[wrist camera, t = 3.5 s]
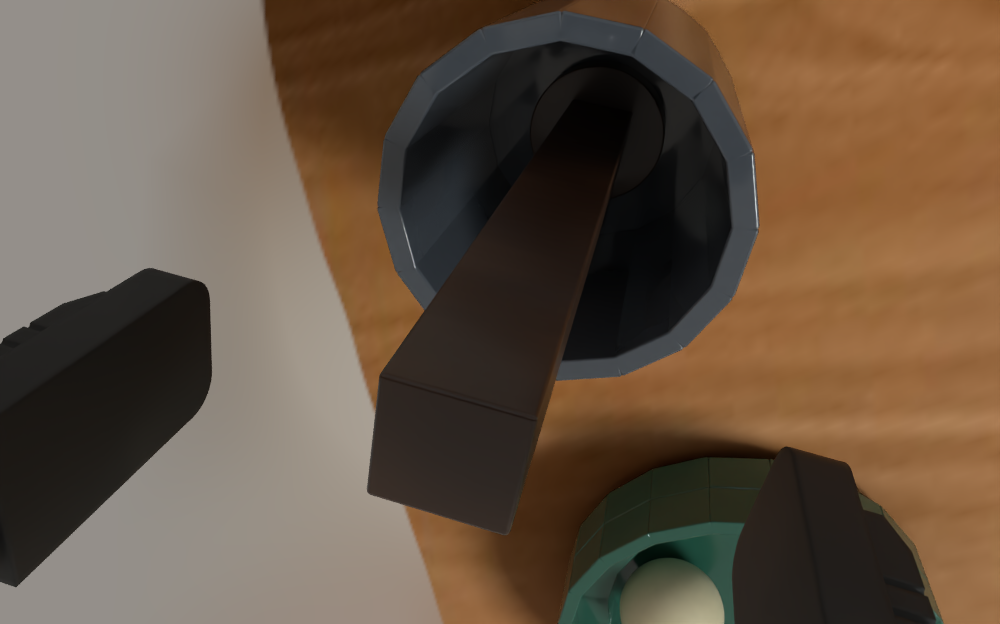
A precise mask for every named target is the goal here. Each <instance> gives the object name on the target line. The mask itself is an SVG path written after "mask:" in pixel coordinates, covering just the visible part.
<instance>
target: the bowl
mask: <svg viewBox="0 0 1000 624" xmlns="http://www.w3.org/2000/svg"><path fill="white" fill-rule="evenodd" d="M773 462H774V459H758V458H725V457H709V458H708V457H704V458H699V459H695V460H690V461H686V462H681V463H677V464H672V465H668V466H663V467H659V468H654V469H652V470H650V471H648V472H646V473H644V474H643V475H641V476H639V477H637V478H635V479H634V480H632V481H630V482H628V483H626V484H624V485H623V486H621V487H619V488H617V489H615V490H614V491H612V492H610V493H609V494H608V495H607V496H606V497H605V498H604V499H603V500H602V502H601V503H600V504H599V505H598V506H597V507H596V508H595V510H594V511H593V512H592V513H591V514H590V515H589V517H588V518H587V519H586V520H585V521H584V522H583V523H582V525H581V526H580V528H579V531H578V534H577V538H576V541H575V544H574V547H573V550H572V554H571V557H570V560H569V564H568V569H567V575H566V580H565V585H564V590H563V596H562V601H561V606H560V611H559V617H558V622H557V624H622V623H621V618H620V598H621V594H622V590H623V588H624V585H625V583H626V582H627V580H628V578H629V577H630V576H631V574H632V573H633V572H634V571H635V570H636V569H637V568H639V567H640V566H642V565H643V564H645V563H647V562H649V561H652V560H655V559H659V558H676V559H680V560H684V561H686V562H689V563H691V564H693V565H695V566H696V567H698V568H699V569H700V570H702V571H703V572H704V573H705V574H706V575H707V576H708V577H709V578H710V579H711V581H712V582H713V583H714V585H715V586H716V588H717V590H718V592H719V594H720V597H721V600H722V603H723V608H724V624H735V622H734V606H733V589H732V569H733V561H734V555H735V550H736V546H737V543H738V539H739V536H740V534H741V531H742V529H743V527H744V524H745V522H746V520H747V518H748V516H749V514H750V512H751V509H752V507H753V505H754V503H755V501H756V499H757V496H758V494H759V492H760V490H761V488H762V486H763V483H764V481H765V479H766V477H767V475H768V473H769V471H770V468H771V466H772V464H773ZM858 494H859V497H860V501H861V504H862V508H863V510H866V511H870V512H874V513H877V514H881V515H883V516H884V517H885V518H886V519H887V521H888V522H889V523H890V524H891V526H892V527H893V528H894V529H895V531H896V532H897V533H898V535H899V536H900V537H901V538H902V540H903V541H904V542H905V543H906V545H907V546H908V547H909V548H910V550H911V551H912V553H913V556H914V559H915V561H916V564H917V567H918V570H919V573H920V575H921V578H922V581H923V584H924V587H925V591H924V595H925V596H928V598H929V601H930V604H931V606H932V609H933V612H934V615H935V618H936V623H935V624H944V623H943V620H942V617H941V614H940V612H939V609H938V606H937V604H936V601H935V598H934V596H933V593H932V590H931V587H930V585H929V582H928V579H927V577H926V574H925V571H924V568H923V566H922V563H921V560H920V558H919V555H918V552H917V550H916V547H915V545H914V543H913V542H912V541H911V540H910V539H909V537H908V536H907V535H906V534H905V533H904V532H903V531H902V529H901V528H900V527H899V526H898V525H897V524H896V523H895V521H894V520H893V519H892V518H891V517H890V516H889V514H888V513H887V512H886V511H885V510H884V509H883V508H882V506H879V505H878V504H877V503H875V502H873V501H872V500H870V499H868V498H867V497H865V496H863V495H862V494H860V493H858Z"/></svg>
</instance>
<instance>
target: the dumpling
mask: <svg viewBox="0 0 1000 624" xmlns="http://www.w3.org/2000/svg"><path fill="white" fill-rule="evenodd" d="M620 618H621V623H622V624H724V608H723V603H722V600H721V597H720V594H719V592H718V590H717V588H716V586H715V585H714V583H713V582H712V581H711V579H710V578H709V577H708V576H707V575H706V574H705V573H704V572H703V571H702V570H700V569H699V568H698V567H696V566H695V565H693V564H691V563H689V562H686V561H684V560H680V559H676V558H659V559H655V560H652V561H649V562H647V563H645V564H643V565H642V566H640V567H639V568H637V569H636V570H635V571H634V572H633V573H632V574H631V576H630V577H629V578H628V580H627V582H626V583H625V585H624V588H623V590H622V594H621V598H620Z"/></svg>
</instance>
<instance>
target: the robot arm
mask: <svg viewBox="0 0 1000 624" xmlns="http://www.w3.org/2000/svg"><path fill="white" fill-rule="evenodd" d="M211 377H212V360H211V324H210V297H209V292H208V290H207V287H206V286H205V284H203V283H202V282H199V281H196V280H193V279H189V278H185V277H182V276H178V275H175V274H171V273H168V272H164V271H160V270H156V269H153V268H148V269H144V270H142V271H140V272H138V273H137V274H135V275H133V276H132V277H130V278H128V279H127V280H125V281H123V282H122V283H120V284H119V285H117V286H115V287H114V288H112V289H110V290H109V291H107V292H100V293H97V294H93V295H90V296H87V297H84V298H80V299H77V300H74V301H70V302H67V303H64V304H62V305H60V306H58V307H56V308H55V309H53V310H51V311H50V312H48V313H46V314H44V315H43V316H41V317H39V318H38V319H36V320H34V321H32V322H31V323H30V326H29V327H28V328H27V327H22V328H21V329H19V330H17V331H15V332H14V333H12V334H10V335H8V336H7V337H5V338H3V342H2V343H1V344H0V582H2V583H5V584H8V585H11V586H14V587H17V586H18V585H19V584H20V583H21V582H22V581H23V580H24V579H25V578H26V577H27V576H28V575H29V574H30V573H31V572H32V571H33V570H35V569H36V568H37V567H38V566H39V565H40V564H41V563H42V562H43V561H44V560H45V559H46V558H47V557H48V556H49V555H50V554H51V553H52V552H53V551H54V550H55V549H56V548H57V547H58V546H59V545H60V544H62V543H63V542H64V541H65V540H66V539H67V538H68V537H69V536H70V535H71V534H72V533H73V532H74V531H75V530H76V529H77V528H78V527H79V526H80V525H81V524H82V523H83V522H84V521H85V520H86V519H87V518H89V517H90V516H91V515H92V514H93V513H94V512H95V511H96V510H97V509H98V508H99V507H100V506H101V505H102V504H103V503H104V502H105V501H106V500H107V499H108V498H109V497H110V496H111V495H113V493H114V492H116V491H117V490H118V489H119V488H120V487H121V486H122V485H123V484H124V483H125V482H126V481H127V480H128V479H129V478H130V477H131V476H132V475H133V474H134V473H135V472H136V471H137V470H138V469H140V468H141V467H142V466H143V465H144V464H145V463H146V462H147V461H148V460H149V459H150V458H151V457H152V456H153V455H154V454H155V453H156V452H157V451H158V450H159V449H160V448H161V447H162V446H163V445H164V444H166V443H167V442H168V441H169V440H170V439H171V438H172V437H173V436H174V435H175V434H176V433H177V432H178V431H179V430H180V429H181V428H182V427H183V426H184V425H185V424H186V423H187V422H188V421H189V420H190V419H192V418H193V417H194V415H195V414H196V413H197V412H198V411H199V409H200V408H201V406H202V404H203V403H204V400H205V398H206V396H207V394H208V391H209V387H210V383H211ZM732 589H733V606H734V622H735V624H935V623H936V618H935V615H934V612H933V609H932V606H931V604H930V601H929V598H928V596H925V595H924V591H925V587H924V584H923V581H922V578H921V575H920V573H919V570H918V567H917V564H916V561H915V559H914V556H913V553H912V551H911V550H910V548H909V547H908V546H907V545H906V543H905V542H904V541H903V540H902V538H901V537H900V536H899V535H898V533H897V532H896V531H895V529H894V528H893V527H892V526H891V524H890V523H889V522H888V521H887V519H886V518H885V517H884V516H883V515H881V514H877V513H874V512H870V511H866V510H863V508H862V504H861V501H860V497H859V494H858V491H857V487H856V484H855V480H854V477H853V474H852V471H851V468H850V467H849V465H848V464H847V463H845V462H841V461H837V460H834V459H830V458H827V457H823V456H819V455H816V454H812V453H809V452H805V451H801V450H798V449H794V448H791V447H784V448H782V449H781V450H780V452H779V453H778V454H777V456H776V458H775V460H774V462H773V464H772V466H771V468H770V471H769V473H768V475H767V477H766V479H765V481H764V483H763V486H762V488H761V490H760V492H759V494H758V496H757V499H756V501H755V503H754V505H753V507H752V509H751V512H750V514H749V516H748V518H747V520H746V522H745V524H744V527H743V529H742V531H741V534H740V536H739V539H738V543H737V546H736V550H735V555H734V561H733V569H732Z"/></svg>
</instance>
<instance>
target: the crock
mask: <svg viewBox="0 0 1000 624" xmlns="http://www.w3.org/2000/svg"><path fill="white" fill-rule="evenodd" d="M597 60H607V61H613V62H618V63H621V64H624V65H626V66H629V67H631V68H633V69H634V70H636V71H637V72H639V73H640V74H641V75H643V76H644V77H645V78H646V79H647V80H648V81H649V82H650V83H651V84H652V86H653V87H654V89H655V90H656V92H657V94H658V96H659V98H660V100H661V102H662V105H663V108H664V114H665V125H666V126H665V137H664V144H663V149H662V152H661V155H660V158H659V160H658V162H657V164H656V166H655V168H654V169H653V171H652V172H651V174H650V175H649V176H648V177H647V178H646V179H645V180H644V181H643V182H642V183H641V184H640V185H639V186H637V187H636V188H634V189H633V190H631V191H630V192H628V193H626V194H623V195H621V196H618V197H615V198H611V199H610V200H609V203H608V207H607V210H606V213H605V217H604V220H603V223H602V227H601V230H600V234H599V237H598V240H597V244H596V247H595V250H594V254H593V257H592V260H591V264H590V267H589V270H588V274H587V277H586V280H585V284H584V287H583V290H582V294H581V297H580V300H579V304H578V307H577V310H576V314H575V317H574V320H573V324H572V327H571V331H570V334H569V337H568V341H567V344H566V347H565V351H564V354H563V357H562V361H561V364H560V367H559V371H558V374H557V377H556V380H557V381H560V380H575V379H591V378H606V377H620V376H621V375H626V374H628V373H630V372H633V371H635V370H637V369H639V368H642V367H644V366H646V365H648V364H651V363H653V362H655V361H657V360H660V359H662V358H664V357H666V356H669V355H671V354H673V353H675V352H678V351H680V350H682V349H683V348H684V347H686V346H687V345H688V344H689V343H690V342H691V341H692V340H693V339H694V338H695V337H696V336H697V335H698V334H699V333H700V332H701V331H702V330H703V329H704V328H705V327H706V326H707V325H708V324H709V323H710V322H711V321H712V320H713V319H714V318H715V317H716V316H717V315H718V314H719V313H720V311H721V310H722V309H723V308H724V307H725V306H726V305H727V304H728V303H729V302H730V301H731V300H732V297H733V296H734V295H735V293H736V291H737V288H738V285H739V283H740V280H741V277H742V275H743V272H744V269H745V267H746V264H747V262H748V259H749V256H750V254H751V251H752V248H753V246H754V243H755V240H756V238H757V235H758V232H759V230H758V228H759V226H760V225H759V210H758V196H757V182H756V168H755V154H754V151H753V148H752V144H751V141H750V137H749V134H748V131H747V127H746V124H745V121H744V117H743V114H742V111H741V107H740V104H739V101H738V97H737V94H736V90H735V87H734V84H733V80H732V77H731V75H730V73H729V71H728V69H727V67H726V65H725V64H724V62H723V60H722V57H721V55H720V53H719V51H718V49H717V48H716V46H715V44H714V43H713V41H712V40H711V38H710V36H709V34H708V32H707V31H706V30H705V28H704V27H702V26H701V25H700V24H698V22H697V21H695V20H694V19H693V18H692V17H691V16H690V15H689V14H687V13H686V12H685V11H684V10H683V9H681V8H679V7H678V6H676V5H675V4H673V3H672V2H670V1H669V0H542V1H540V2H537V3H535V4H533V5H531V6H529V7H526V8H524V9H522V10H520V11H517V12H515V13H513V14H511V15H509V16H506V17H504V18H502V19H500V20H497V21H495V22H493V23H491V24H489V25H486V26H484V27H482V28H480V29H478V30H476V31H475V32H474V33H472V34H471V35H470V36H468V37H467V38H466V39H464V40H463V41H462V42H460V43H459V44H458V45H456V46H455V47H454V48H452V49H451V50H450V51H448V52H447V53H446V54H444V55H443V56H442V57H440V58H439V59H438V60H436V61H435V62H434V63H432V64H431V65H430V66H428V67H427V68H426V69H424V70H423V71H422V72H421V74H420V75H419V76H417V78H416V80H415V82H414V83H413V85H412V87H411V89H410V91H409V93H408V94H407V96H406V98H405V100H404V102H403V103H402V105H401V107H400V109H399V111H398V113H397V114H396V116H395V118H394V120H393V122H392V124H391V125H390V127H389V129H388V131H387V133H386V134H385V139H384V141H383V152H382V162H381V173H380V183H379V194H378V213H379V216H380V219H381V223H382V226H383V230H384V233H385V236H386V240H387V243H388V247H389V250H390V254H391V257H392V260H393V264H394V267H395V270H396V272H397V273H398V275H399V277H400V278H401V279H402V281H403V282H404V283H405V285H406V286H407V287H408V289H409V290H410V291H411V293H412V294H413V295H414V297H415V298H416V299H417V301H418V302H419V303H420V305H421V306H422V307H423V309H424V310H426V308H427V307H428V305H429V304H430V302H431V301H432V300H433V298H434V297H435V295H436V294H437V293H438V291H439V290H440V288H441V287H442V285H443V284H444V283H445V281H446V280H447V278H448V277H449V275H450V274H451V273H452V271H453V270H454V268H455V267H456V265H457V264H458V263H459V261H460V260H461V258H462V257H463V255H464V254H465V253H466V251H467V250H468V248H469V247H470V245H471V244H472V243H473V241H474V240H475V238H476V237H477V236H478V234H479V233H480V231H481V230H482V228H483V227H484V226H485V224H486V223H487V221H488V220H489V218H490V217H491V216H492V214H493V213H494V211H495V210H496V208H497V207H498V206H499V204H500V203H501V201H502V200H503V198H504V197H505V196H506V194H507V193H508V191H509V190H510V189H511V187H512V186H513V184H514V183H515V181H516V180H517V179H518V177H519V176H520V174H521V173H522V171H523V170H524V169H525V167H526V166H527V164H528V163H529V161H530V160H531V159H532V157H533V156H534V155H533V151H532V148H531V142H530V125H531V119H532V115H533V111H534V109H535V106H536V104H537V102H538V100H539V99H540V97H541V95H542V94H543V93H544V91H545V90H546V89H547V88H548V87H549V86H550V84H551V83H552V82H553V81H554V80H555V79H556V78H557V77H558V76H560V75H561V74H562V73H563V72H565V71H566V70H568V69H570V68H572V67H574V66H576V65H579V64H581V63H585V62H589V61H597Z"/></svg>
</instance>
